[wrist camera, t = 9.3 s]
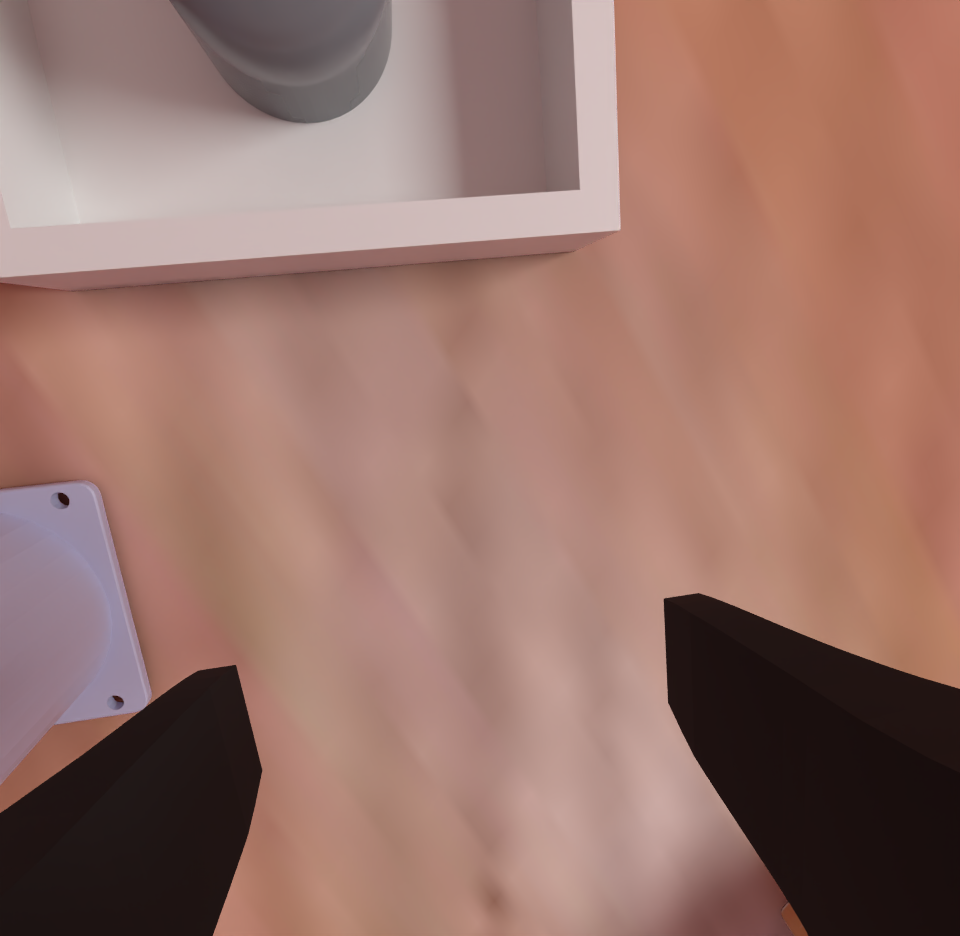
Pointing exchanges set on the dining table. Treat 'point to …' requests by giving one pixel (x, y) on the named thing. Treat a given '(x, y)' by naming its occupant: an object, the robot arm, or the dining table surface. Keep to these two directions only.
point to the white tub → (300, 147)
